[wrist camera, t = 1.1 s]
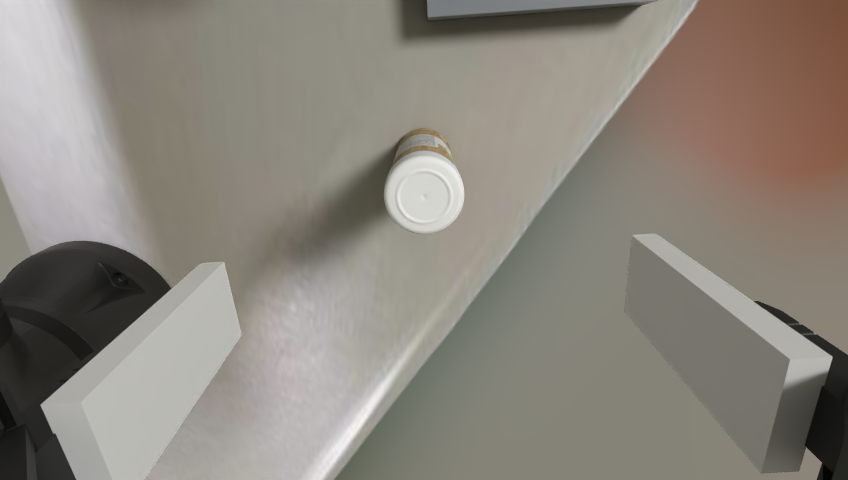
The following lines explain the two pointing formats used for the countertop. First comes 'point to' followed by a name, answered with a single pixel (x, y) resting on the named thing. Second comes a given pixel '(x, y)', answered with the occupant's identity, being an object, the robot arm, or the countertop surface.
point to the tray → (514, 7)
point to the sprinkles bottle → (423, 184)
